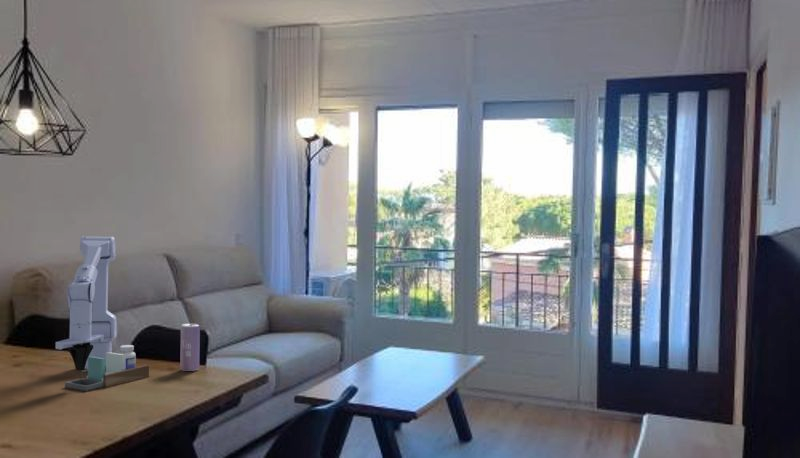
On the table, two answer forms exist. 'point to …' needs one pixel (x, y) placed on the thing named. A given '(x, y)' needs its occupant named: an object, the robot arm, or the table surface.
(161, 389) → the table surface
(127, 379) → the channel
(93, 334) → the robot arm
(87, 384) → the tray
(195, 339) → the beverage can
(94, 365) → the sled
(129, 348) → the pill bottle
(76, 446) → the table surface
